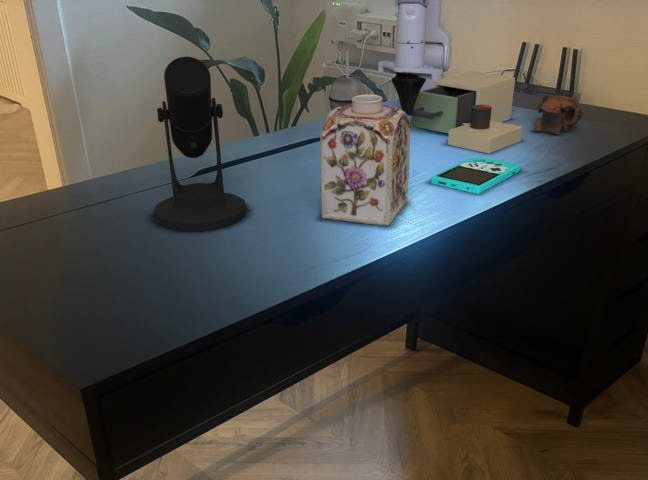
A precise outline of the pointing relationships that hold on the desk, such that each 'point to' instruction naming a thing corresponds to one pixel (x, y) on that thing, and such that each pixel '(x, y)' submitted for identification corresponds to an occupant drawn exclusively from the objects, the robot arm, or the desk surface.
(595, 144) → the desk surface
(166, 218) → the microphone
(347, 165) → the decorative jar
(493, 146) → the block
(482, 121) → the timer dial
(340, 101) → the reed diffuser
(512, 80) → the drawer box
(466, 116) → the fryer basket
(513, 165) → the handheld game console
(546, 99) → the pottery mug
